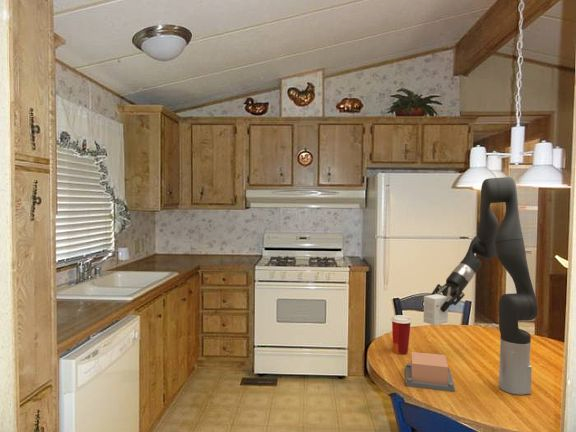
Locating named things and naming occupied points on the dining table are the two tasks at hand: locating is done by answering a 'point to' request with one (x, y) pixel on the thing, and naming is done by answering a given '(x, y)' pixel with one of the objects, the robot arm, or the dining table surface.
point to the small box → (435, 309)
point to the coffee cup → (400, 333)
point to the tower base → (429, 372)
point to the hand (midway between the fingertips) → (436, 308)
